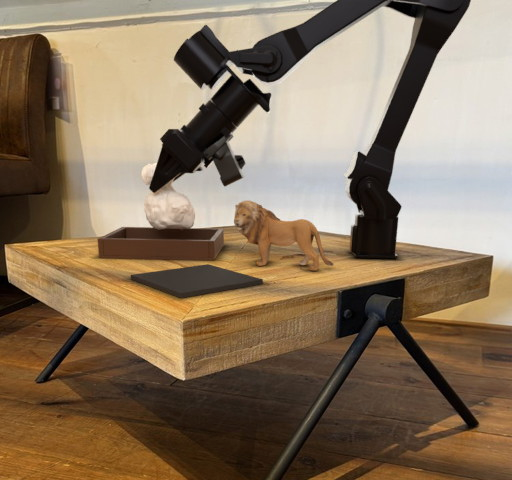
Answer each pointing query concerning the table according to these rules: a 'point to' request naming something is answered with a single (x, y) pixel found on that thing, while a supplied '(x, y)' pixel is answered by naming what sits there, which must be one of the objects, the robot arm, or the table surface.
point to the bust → (166, 205)
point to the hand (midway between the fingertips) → (154, 189)
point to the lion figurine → (277, 233)
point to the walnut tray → (162, 243)
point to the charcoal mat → (195, 280)
